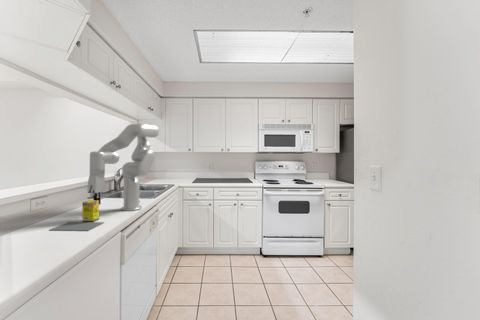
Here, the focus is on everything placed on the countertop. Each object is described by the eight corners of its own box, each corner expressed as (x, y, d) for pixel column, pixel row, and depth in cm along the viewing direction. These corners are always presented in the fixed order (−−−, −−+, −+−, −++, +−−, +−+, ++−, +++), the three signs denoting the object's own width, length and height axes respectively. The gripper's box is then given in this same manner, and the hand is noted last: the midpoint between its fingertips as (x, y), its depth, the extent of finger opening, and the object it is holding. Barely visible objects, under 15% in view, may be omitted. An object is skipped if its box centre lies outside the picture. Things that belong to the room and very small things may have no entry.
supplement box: (93, 222, 133) (93, 202, 132) (82, 222, 132) (82, 202, 132) (99, 219, 138) (99, 200, 138) (88, 219, 138) (88, 200, 138)
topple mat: (69, 222, 132) (69, 221, 132) (104, 222, 132) (104, 222, 132) (48, 230, 118) (48, 229, 118) (87, 231, 118) (87, 230, 118)
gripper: (98, 171, 148) (98, 202, 149) (82, 173, 133) (81, 207, 134) (110, 172, 148) (110, 202, 148) (95, 173, 133) (95, 207, 134)
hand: (96, 204), depth 141 cm, fingers closed
